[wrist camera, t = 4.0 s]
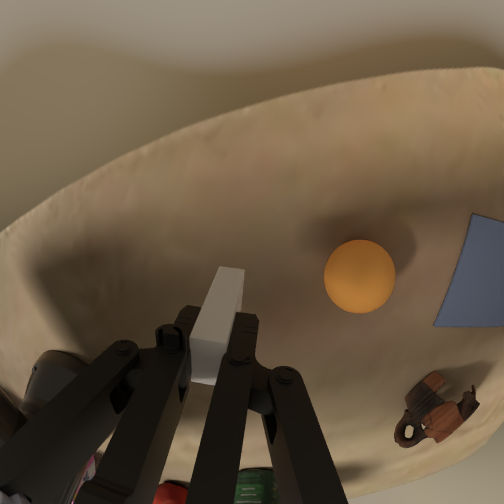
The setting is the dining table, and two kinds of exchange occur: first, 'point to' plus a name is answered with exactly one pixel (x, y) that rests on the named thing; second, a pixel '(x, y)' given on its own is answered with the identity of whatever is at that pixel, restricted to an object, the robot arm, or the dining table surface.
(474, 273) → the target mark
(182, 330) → the robot arm
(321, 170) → the dining table surface
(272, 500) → the coffee jar
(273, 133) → the dining table surface
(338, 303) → the ball
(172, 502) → the tomato
